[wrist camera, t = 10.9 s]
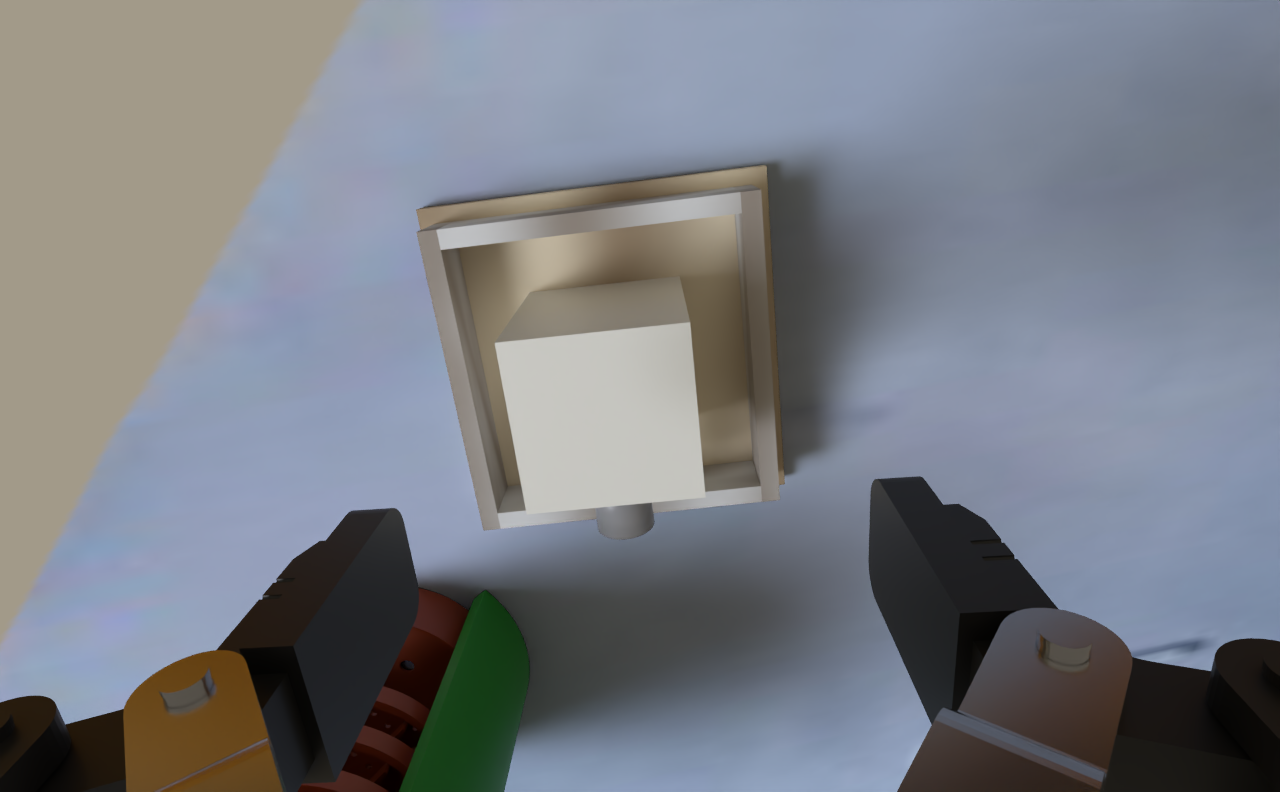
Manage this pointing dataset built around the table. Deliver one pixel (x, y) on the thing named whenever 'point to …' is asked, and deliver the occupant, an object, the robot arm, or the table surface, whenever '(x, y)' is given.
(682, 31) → the table surface
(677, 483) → the cream cube on peg
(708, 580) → the table surface
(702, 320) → the mount pocket
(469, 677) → the green cutaway cylinder
